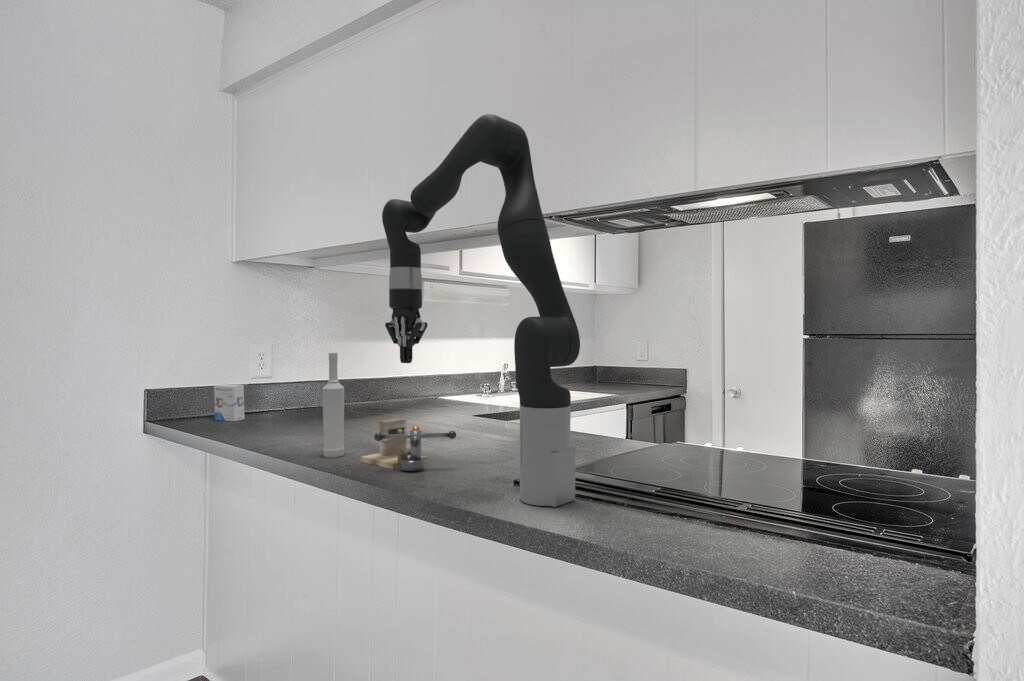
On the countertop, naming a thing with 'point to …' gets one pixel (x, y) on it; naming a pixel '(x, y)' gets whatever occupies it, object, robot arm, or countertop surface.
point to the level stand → (391, 446)
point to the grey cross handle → (414, 446)
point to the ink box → (229, 402)
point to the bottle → (333, 412)
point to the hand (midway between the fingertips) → (406, 362)
